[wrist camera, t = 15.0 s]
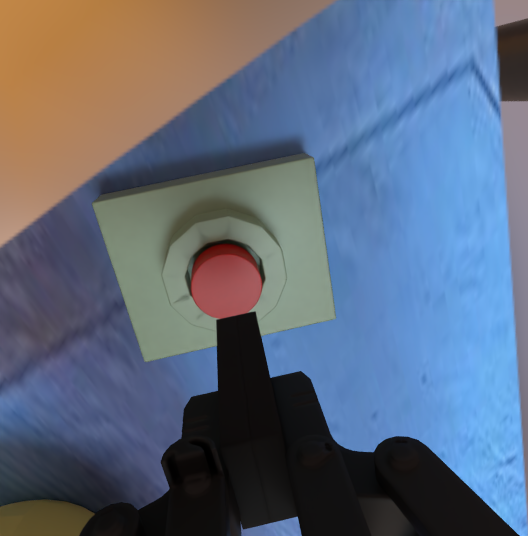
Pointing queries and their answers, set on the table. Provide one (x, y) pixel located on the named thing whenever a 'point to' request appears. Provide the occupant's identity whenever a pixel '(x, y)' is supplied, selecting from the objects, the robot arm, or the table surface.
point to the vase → (43, 518)
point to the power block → (213, 233)
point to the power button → (225, 281)
